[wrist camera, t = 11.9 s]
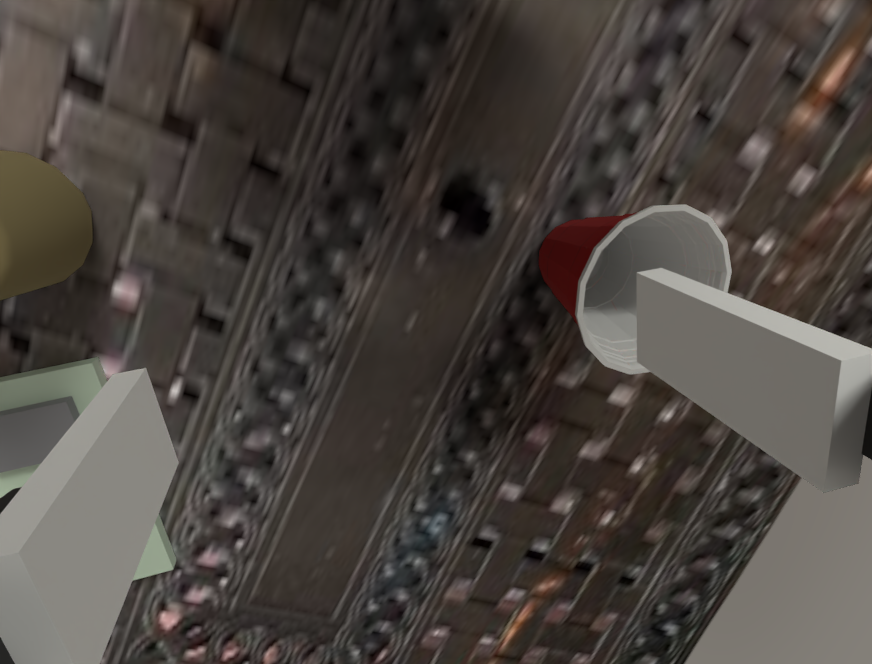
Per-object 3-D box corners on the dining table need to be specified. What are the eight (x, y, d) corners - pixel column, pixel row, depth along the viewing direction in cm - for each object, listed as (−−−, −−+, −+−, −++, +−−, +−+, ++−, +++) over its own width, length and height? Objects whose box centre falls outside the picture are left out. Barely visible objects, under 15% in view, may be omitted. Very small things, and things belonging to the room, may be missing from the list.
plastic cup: (583, 345, 48) (666, 405, 37) (482, 281, 44) (542, 327, 33) (660, 235, 47) (771, 265, 35) (562, 159, 43) (653, 165, 32)
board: (-159, 410, 38) (-212, 441, 34) (98, 356, 40) (75, 379, 36) (-39, 616, 44) (-73, 662, 40) (176, 559, 46) (164, 597, 42)
